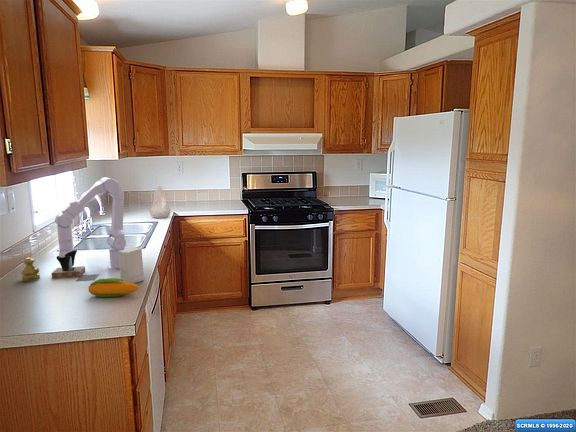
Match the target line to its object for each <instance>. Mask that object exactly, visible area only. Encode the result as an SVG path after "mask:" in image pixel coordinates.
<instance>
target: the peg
mask: <svg viewBox="0 0 576 432" xmlns="http://www.w3.org/2000/svg"><path fill="white" fill-rule="evenodd" d="M72 267H73V266H72V259H71V258H70V261H69V270H68V271H73V269H72Z"/></svg>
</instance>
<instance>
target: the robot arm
mask: <svg viewBox="0 0 576 432" xmlns="http://www.w3.org/2000/svg"><path fill="white" fill-rule="evenodd" d="M104 193H107V194H108V195H110V196H111V197H112V203H111V204H112V205H111V226H110V230H109V231H108V232H109V234H108V237H107V240H106V242H107V245H109V248H108V251H109V263H110V265H109V266H108V268H107V269H108V270H109V269H120V265H119V254H118V251H121V250H124V249H127V248H126V246H127V241H126V239H125V233H124V231H123V230H124V208H125V193H124V190H123V189H122V187H121V185H120V183H119V181H117V180H116V179H114V178H112V177H110V178H109V177H106V176H103V177H101V178H100V179H99V180H97V181H95V183H94V184H93V185H92V186H91V187H90V188H89V189H88V190H87V191H86V192H85V193H84V194H83V195H82V196H81V197H80V198H79V200H74V201H70V202H69V205H68V206H67V207H65V209H62V210H61V213H58V214H57V215H55V218H54V222H55V224H56V225H57V228H56V229H57V239H58V247H59V248H58V249H56V252H58V255H57V256H56V260H57V261H58V262H59V264H60V266H61V267H60V268H62V269H63V271H68V270H69V261H70V258H71V259H72V267H75V266H74V265H75V259H76V258H75V257H76V255H77V252H78V250H77V249H75V246H74V242H73V241H74V240H73V238H74V237H73V229H72V225H73V221H74V220H75V219H77V217H78V216H80V214H81V213H82V212H83V211H85V205H87V204H88V203H89V202H90V201H92V199H93V198H95V197H96V196H97V195H100V194H104Z"/></svg>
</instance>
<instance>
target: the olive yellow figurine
mask: <svg viewBox="0 0 576 432" xmlns="http://www.w3.org/2000/svg"><path fill="white" fill-rule="evenodd" d="M35 262H36V259H35V258H34V257H32V258H31V257H27V258H24V259H23V260H22V262H21V263H23V264H24V266H25V267H23V268H22V269H21V270H20V274H21V276H20V278H21V281H22V282H25V283H29V282H34V281H38V280H40V278H41V273H40V268H39V267H37V266H35V265H34V263H35Z"/></svg>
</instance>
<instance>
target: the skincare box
mask: <svg viewBox="0 0 576 432" xmlns="http://www.w3.org/2000/svg"><path fill="white" fill-rule="evenodd" d="M142 250H143V249H142V248H140V247H136V246H132V247H128V248H126V249H124V250H121V251H118V254H119V265H120V268H119V274H120V279H124V280H123V281H122V282H129V283H134V284H136V283H139V282H142V281H144V280H145V278H144V277H145V274H144V265H143V264H144V263H143V262H144V261H143V251H142Z"/></svg>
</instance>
